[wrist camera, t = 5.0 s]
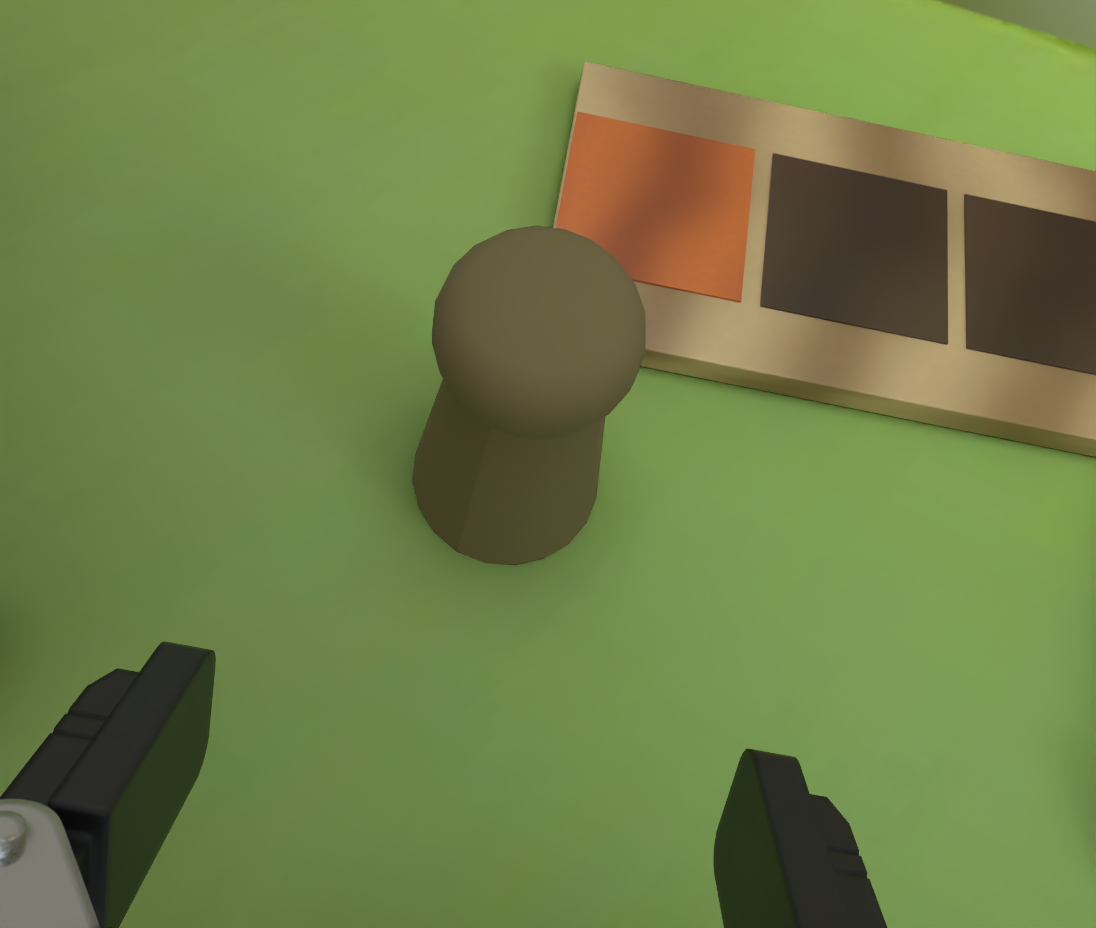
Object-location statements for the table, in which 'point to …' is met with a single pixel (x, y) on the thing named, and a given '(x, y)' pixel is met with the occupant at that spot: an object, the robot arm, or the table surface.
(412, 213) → the table surface
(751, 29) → the table surface
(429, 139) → the table surface
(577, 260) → the olive brown pawn
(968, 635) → the table surface
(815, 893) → the robot arm
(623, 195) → the board
